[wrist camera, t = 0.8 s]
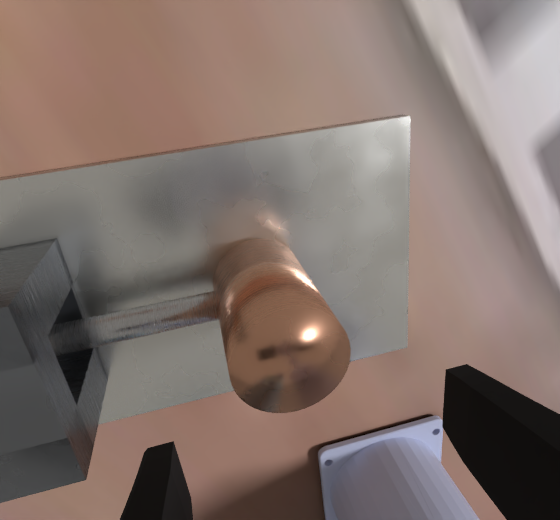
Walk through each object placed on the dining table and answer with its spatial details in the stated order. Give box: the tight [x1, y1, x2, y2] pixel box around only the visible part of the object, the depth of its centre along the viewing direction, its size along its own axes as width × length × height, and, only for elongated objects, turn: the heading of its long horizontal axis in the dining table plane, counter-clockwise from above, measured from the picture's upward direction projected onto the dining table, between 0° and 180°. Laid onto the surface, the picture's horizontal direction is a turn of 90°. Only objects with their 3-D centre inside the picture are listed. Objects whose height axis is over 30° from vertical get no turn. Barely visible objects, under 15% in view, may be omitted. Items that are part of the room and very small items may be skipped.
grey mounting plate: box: [0, 115, 410, 503], centre depth 16 cm, size 12×23×6 cm, turn 97°
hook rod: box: [48, 239, 351, 413], centre depth 15 cm, size 15×4×6 cm, turn 97°
